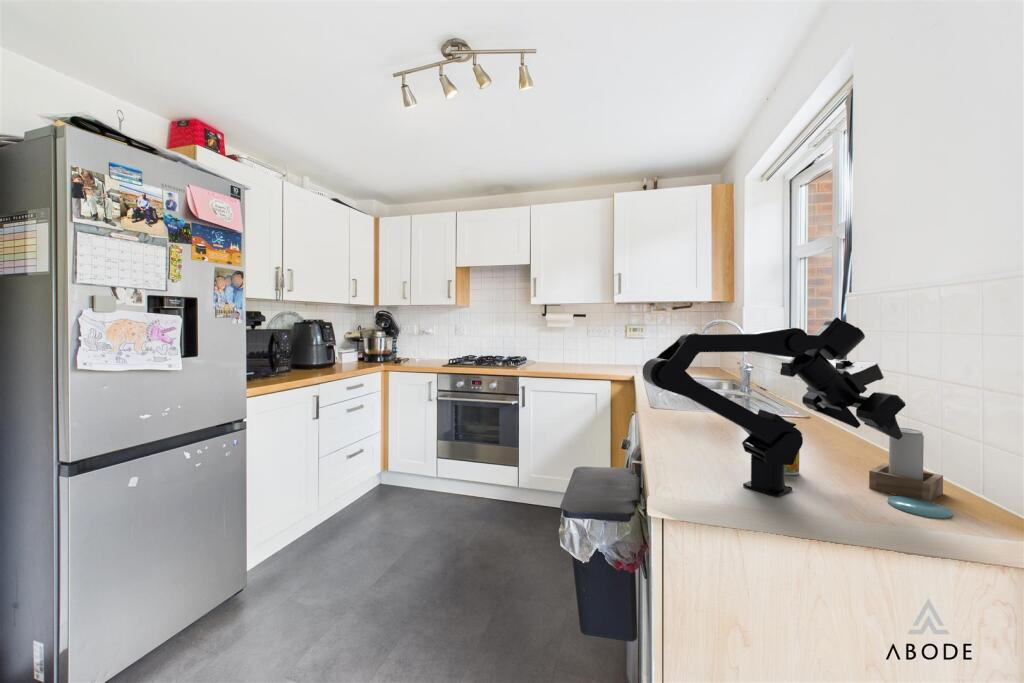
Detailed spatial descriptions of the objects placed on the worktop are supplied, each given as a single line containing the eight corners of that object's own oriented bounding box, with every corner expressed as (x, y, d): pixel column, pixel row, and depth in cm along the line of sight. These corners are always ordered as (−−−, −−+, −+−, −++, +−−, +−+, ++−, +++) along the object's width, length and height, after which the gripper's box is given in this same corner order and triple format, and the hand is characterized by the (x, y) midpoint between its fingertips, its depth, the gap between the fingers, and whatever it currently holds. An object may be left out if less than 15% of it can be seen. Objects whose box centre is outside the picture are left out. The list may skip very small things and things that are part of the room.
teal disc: (945, 522, 65) (945, 519, 65) (880, 505, 72) (881, 502, 72) (957, 511, 69) (957, 508, 69) (895, 495, 76) (895, 492, 76)
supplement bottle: (773, 473, 88) (773, 430, 88) (767, 466, 93) (768, 425, 93) (802, 477, 86) (803, 432, 86) (795, 469, 91) (795, 427, 91)
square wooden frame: (929, 503, 72) (930, 484, 72) (869, 487, 80) (869, 470, 80) (942, 493, 77) (943, 475, 77) (884, 479, 84) (884, 463, 84)
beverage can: (929, 496, 75) (930, 433, 75) (900, 494, 76) (901, 432, 76) (910, 486, 80) (911, 427, 80) (882, 485, 81) (883, 426, 81)
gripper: (895, 349, 69) (960, 412, 69) (816, 346, 87) (867, 395, 87) (848, 394, 69) (912, 457, 69) (779, 381, 88) (830, 431, 88)
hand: (878, 431), depth 78 cm, fingers open, 9 cm apart
